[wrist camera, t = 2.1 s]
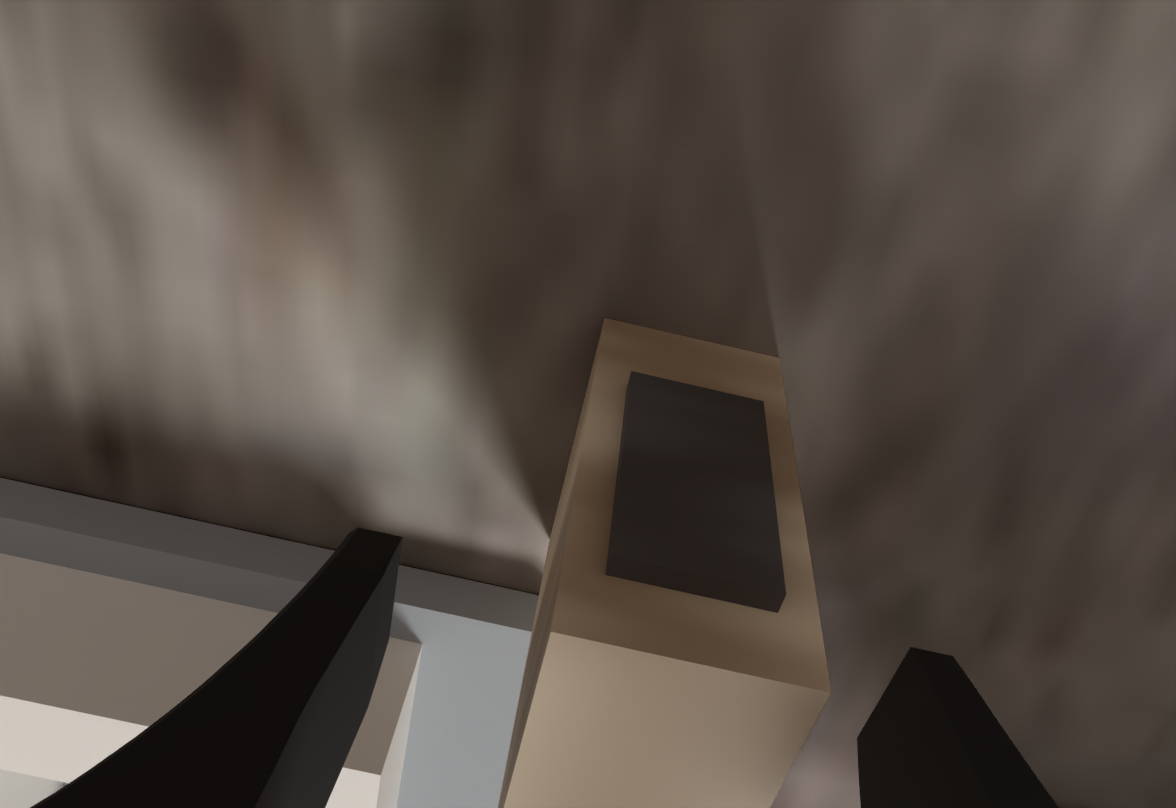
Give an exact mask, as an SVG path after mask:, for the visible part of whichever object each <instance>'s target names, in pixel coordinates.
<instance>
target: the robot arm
mask: <svg viewBox="0 0 1176 808" xmlns="http://www.w3.org/2000/svg"><path fill="white" fill-rule="evenodd" d="M401 544H402V537H399V536H394V535H390V534H385V533H381V532H376V531H371V530H367V529H362V528H357V529H355V530H353V531H351V532H350V533H349V534H348V535H347V537H346V538H345V539H344V540H343V542H342V543H341V544H340V546H339V547H338V548H337V549H336V551H335V552H334V553H333V554H332V555H331V557H330V558H329V559H328V560H327V561H326V563H325V564H324V565H323V566H322V567H321V568H320V569H319V571H318V572H317V573H316V574H315V575H314V576H313V577H312V578H311V579H310V581H309V582H308V583H307V584H306V585H305V586H304V587H303V588H302V589H301V590H300V591H299V592H298V594H297V595H296V596H295V597H294V598H293V599H292V600H291V601H290V602H289V603H288V604H287V605H286V606H285V607H284V608H283V609H282V610H281V611H280V612H279V613H278V614H277V615H276V616H275V617H274V618H273V619H272V620H271V621H270V622H269V623H268V624H267V625H266V626H265V627H264V628H263V629H262V630H261V631H260V632H259V633H258V634H257V635H256V636H255V637H254V638H253V639H252V640H251V641H250V642H248V643H247V644H246V645H245V646H244V647H243V648H242V649H241V650H240V651H238V652H237V653H236V654H235V655H234V656H233V657H232V658H231V659H230V660H228V661H227V662H226V663H225V664H224V665H223V666H222V667H221V668H220V669H218V670H217V671H216V672H215V673H214V674H213V675H212V676H211V677H210V678H208V679H207V680H206V681H205V682H204V683H203V684H202V685H200V686H199V687H198V688H197V689H196V690H194V691H193V692H192V693H191V694H190V695H188V696H187V697H186V698H185V699H183V700H182V701H181V702H180V703H179V704H177V705H176V706H175V707H174V708H172V709H171V710H170V711H169V712H167V713H166V714H165V715H163V716H162V717H161V718H159V719H158V720H157V721H156V722H154V723H153V724H152V725H150V726H149V727H148V728H147V729H145V730H144V731H143V732H141V733H140V734H139V735H137V736H136V737H135V738H133V739H132V740H130V741H129V742H127V743H126V744H125V745H123V746H122V747H120V748H119V749H118V750H116V751H115V752H113V753H112V754H111V755H109V756H108V757H106V758H105V759H104V760H102V761H101V762H99V763H98V764H97V765H95V766H94V767H92V768H91V769H89V770H88V771H87V772H85V773H84V774H82V775H81V776H79V777H78V778H76V779H75V780H73V781H72V782H70V783H69V784H67V785H66V786H64V787H62V788H61V789H59V790H58V791H56V792H55V793H53V794H52V795H50V796H48V797H47V798H45V799H43V800H42V801H40V802H38V803H37V804H35V805H34V806H32V807H30V808H325V807H326V805H327V802H328V800H329V798H330V795H331V793H332V791H333V788H334V786H335V784H336V781H337V779H338V777H339V775H340V772H341V770H342V768H343V765H344V763H345V761H346V758H347V756H348V754H349V751H350V749H351V747H352V744H353V742H354V740H355V737H356V735H357V732H358V730H359V728H360V725H361V723H362V721H363V718H364V716H365V714H366V711H367V709H368V706H369V703H370V700H371V697H372V694H373V690H374V687H375V684H376V681H377V678H378V674H379V671H380V668H381V664H382V661H383V658H384V655H385V651H386V648H387V645H388V641H389V637H390V630H391V622H392V614H393V606H394V598H395V591H396V583H397V575H398V567H399V560H400V552H401ZM857 742H858V768H859V786H860V801H861V808H1059V807H1058V806H1057V804H1056V803H1055V802H1054V800H1053V799H1052V798H1051V796H1050V795H1049V794H1048V792H1047V791H1046V789H1045V788H1044V787H1043V785H1042V784H1041V782H1040V781H1039V780H1038V778H1037V777H1036V775H1035V774H1034V773H1033V771H1032V770H1031V768H1030V767H1029V765H1028V764H1027V763H1026V761H1025V760H1024V758H1023V757H1022V755H1021V754H1020V753H1019V751H1018V750H1017V748H1016V747H1015V745H1014V744H1013V742H1012V741H1011V740H1010V738H1009V737H1008V735H1007V734H1006V732H1005V731H1004V729H1003V728H1002V726H1001V725H1000V724H999V722H998V721H997V719H996V718H995V716H994V715H993V713H992V712H991V710H990V709H989V707H988V706H987V704H986V703H985V702H984V700H983V699H982V697H981V696H980V694H979V693H978V691H977V690H976V688H975V687H974V685H973V684H972V683H971V681H970V680H969V678H968V677H967V675H966V674H965V672H964V671H963V670H962V668H961V667H960V665H959V664H958V663H957V661H956V660H955V658H954V657H953V656H950V655H945V654H940V653H936V652H931V651H926V650H922V649H917V648H913V647H910V649H909V651H908V653H907V654H906V656H905V658H904V659H903V661H902V663H901V664H900V666H899V668H898V670H897V671H896V673H895V675H894V676H893V678H892V680H891V681H890V683H889V685H888V687H887V688H886V690H885V692H884V693H883V695H882V697H881V698H880V700H879V702H878V704H877V705H876V707H875V709H874V710H873V712H872V714H871V715H870V717H869V719H868V721H867V722H866V724H865V726H864V727H863V729H862V731H861V732H860V734H859V736H858V738H857Z"/></svg>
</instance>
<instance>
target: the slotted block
mask: <svg viewBox="0 0 1176 808" xmlns="http://www.w3.org/2000/svg"><path fill="white" fill-rule="evenodd" d="M334 552H335V551H334V550H329V549H324V548H320V547H315V546H311V545H306V544H301V543H297V542H292V541H288V540H283V539H279V538H274V537H269V536H265V535H260V534H256V533H251V532H247V531H242V530H237V529H233V528H228V527H224V526H219V525H214V524H210V523H205V522H201V521H196V520H192V519H187V518H182V517H178V516H173V515H169V514H164V513H159V512H155V511H150V510H146V509H141V508H137V507H132V506H127V505H123V504H118V503H114V502H109V501H105V500H100V499H95V498H91V497H86V496H82V495H77V494H72V493H68V492H63V491H59V490H54V489H50V488H45V487H40V486H36V485H31V484H27V483H22V482H18V481H13V480H8V479H4V478H0V808H30V807H32V806H34V805H35V804H37V803H38V802H40V801H42V800H43V799H45V798H47V797H48V796H50V795H52V794H53V793H55V792H56V791H58V790H59V789H61V788H62V787H64V786H66V785H67V784H69V783H70V782H72V781H73V780H75V779H76V778H78V777H79V776H81V775H82V774H84V773H85V772H87V771H88V770H89V769H91V768H92V767H94V766H95V765H97V764H98V763H99V762H101V761H102V760H104V759H105V758H106V757H108V756H109V755H111V754H112V753H113V752H115V751H116V750H118V749H119V748H120V747H122V746H123V745H125V744H126V743H127V742H129V741H130V740H132V739H133V738H135V737H136V736H137V735H139V734H140V733H141V732H143V731H144V730H145V729H147V728H148V727H149V726H150V725H152V724H153V723H154V722H156V721H157V720H158V719H159V718H161V717H162V716H163V715H165V714H166V713H167V712H169V711H170V710H171V709H172V708H174V707H175V706H176V705H177V704H179V703H180V702H181V701H182V700H183V699H185V698H186V697H187V696H188V695H190V694H191V693H192V692H193V691H194V690H196V689H197V688H198V687H199V686H200V685H202V684H203V683H204V682H205V681H206V680H207V679H208V678H210V677H211V676H212V675H213V674H214V673H215V672H216V671H217V670H218V669H220V668H221V667H222V666H223V665H224V664H225V663H226V662H227V661H228V660H230V659H231V658H232V657H233V656H234V655H235V654H236V653H237V652H238V651H240V650H241V649H242V648H243V647H244V646H245V645H246V644H247V643H248V642H250V641H251V640H252V639H253V638H254V637H255V636H256V635H257V634H258V633H259V632H260V631H261V630H262V629H263V628H264V627H265V626H266V625H267V624H268V623H269V622H270V621H271V620H272V619H273V618H274V617H275V616H276V615H277V614H278V613H279V612H280V611H281V610H282V609H283V608H284V607H285V606H286V605H287V604H288V603H289V602H290V601H291V600H292V599H293V598H294V597H295V596H296V595H297V594H298V592H299V591H300V590H301V589H302V588H303V587H304V586H305V585H306V584H307V583H308V582H309V581H310V579H311V578H312V577H313V576H314V575H315V574H316V573H317V572H318V571H319V569H320V568H321V567H322V566H323V565H324V564H325V563H326V561H327V560H328V559H329V558H330V557H331V555H332V554H333V553H334ZM538 597H539V595H535V594H530V593H526V592H521V591H517V590H512V589H508V588H503V587H498V586H494V585H489V584H485V583H480V582H475V581H471V580H466V579H462V578H457V577H453V576H448V575H443V574H439V573H434V572H430V571H425V570H421V569H416V568H411V567H407V566H402V565H399V567H398V575H397V583H396V591H395V598H394V606H393V614H392V622H391V630H390V637H389V641H388V645H387V648H386V651H385V655H384V658H383V661H382V664H381V668H380V671H379V674H378V678H377V681H376V684H375V687H374V690H373V694H372V697H371V700H370V703H369V706H368V709H367V711H366V714H365V716H364V718H363V721H362V723H361V725H360V728H359V730H358V732H357V735H356V737H355V740H354V742H353V744H352V747H351V749H350V751H349V754H348V756H347V758H346V761H345V763H344V765H343V768H342V770H341V772H340V775H339V777H338V779H337V781H336V784H335V786H334V788H333V791H332V793H331V795H330V798H329V800H328V802H327V805H326V807H325V808H498V804H499V799H500V794H501V788H502V783H503V778H504V773H505V768H506V763H507V758H508V752H509V747H510V742H511V737H512V732H513V727H514V721H515V716H516V711H517V706H518V701H519V696H520V690H521V685H522V680H523V675H524V670H525V665H526V659H527V654H528V649H529V644H530V639H531V634H532V628H533V623H534V618H535V613H536V608H537V603H538Z"/></svg>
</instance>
